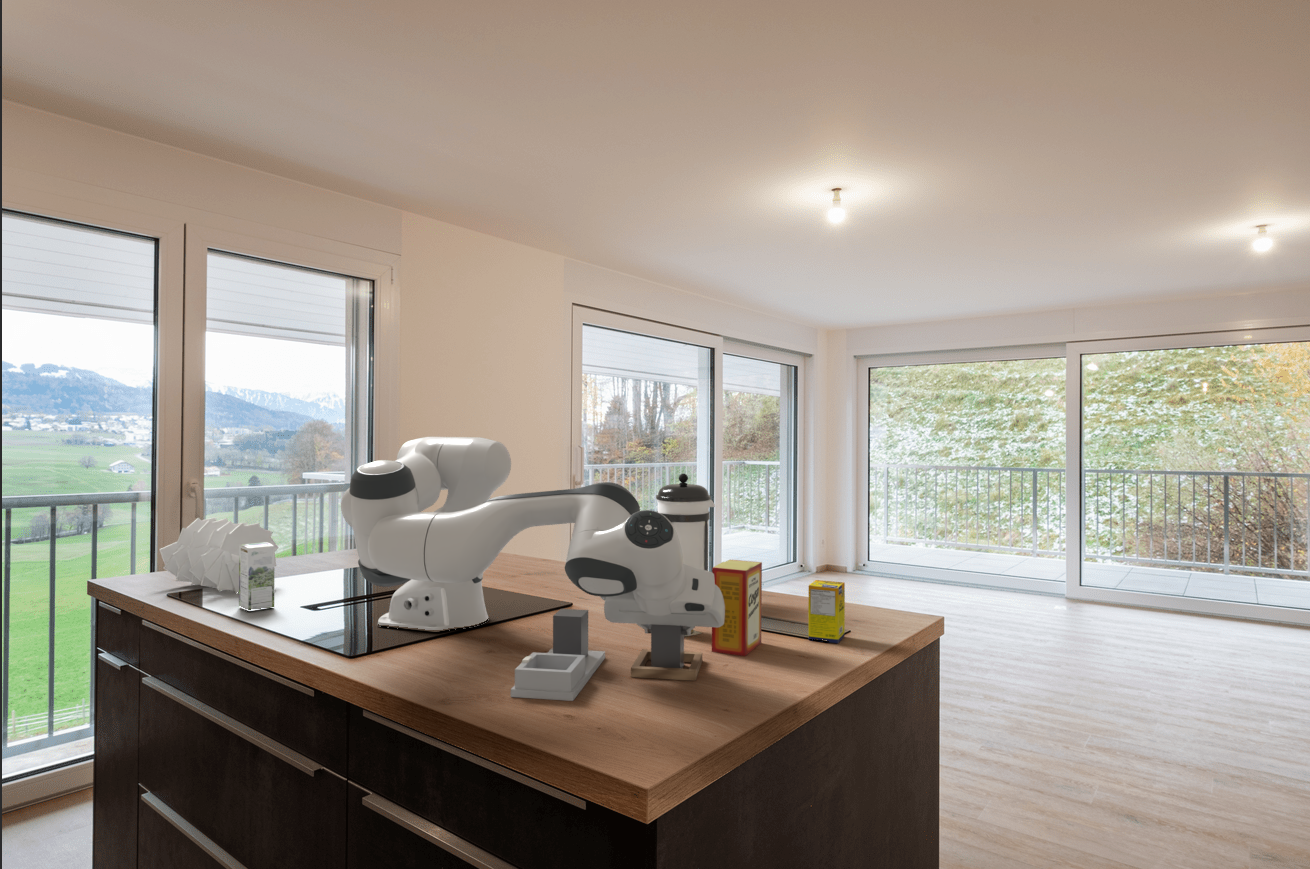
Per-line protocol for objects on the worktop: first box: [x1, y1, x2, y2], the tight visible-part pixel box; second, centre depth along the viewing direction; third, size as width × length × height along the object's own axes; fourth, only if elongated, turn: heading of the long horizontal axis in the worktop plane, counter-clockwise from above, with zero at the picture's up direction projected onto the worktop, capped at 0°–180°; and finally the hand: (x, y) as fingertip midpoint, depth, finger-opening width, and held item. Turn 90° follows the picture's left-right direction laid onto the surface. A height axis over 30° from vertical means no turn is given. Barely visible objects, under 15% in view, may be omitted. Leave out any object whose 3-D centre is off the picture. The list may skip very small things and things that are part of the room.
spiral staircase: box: [158, 516, 279, 593], centre depth 201 cm, size 18×18×25 cm
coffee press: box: [655, 473, 716, 571], centre depth 189 cm, size 17×16×30 cm
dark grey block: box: [650, 624, 685, 669], centre depth 139 cm, size 5×5×12 cm
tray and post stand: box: [510, 608, 606, 702], centre depth 135 cm, size 22×10×9 cm, turn 171°
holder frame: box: [630, 648, 703, 682], centre depth 139 cm, size 11×11×2 cm
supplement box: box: [807, 579, 846, 644], centre depth 158 cm, size 6×6×11 cm
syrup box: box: [238, 542, 276, 610], centre depth 181 cm, size 6×6×14 cm
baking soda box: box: [711, 559, 763, 657], centre depth 152 cm, size 10×6×16 cm
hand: (668, 630), depth 140 cm, fingers closed on dark grey block, 5 cm apart
